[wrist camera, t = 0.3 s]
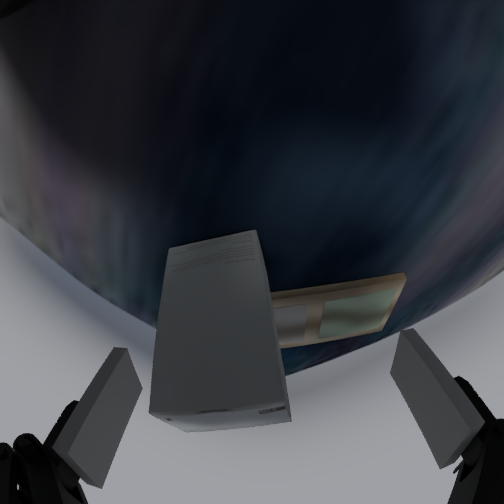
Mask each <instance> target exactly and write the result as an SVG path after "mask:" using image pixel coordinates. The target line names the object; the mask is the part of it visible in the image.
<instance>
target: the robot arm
mask: <svg viewBox="0 0 504 504" xmlns="http://www.w3.org/2000/svg"><path fill="white" fill-rule="evenodd" d="M29 1H31V0H0V19H1V18H4V17H6V16H8V15H10V14H12V13H13V12H15V11H17V10H18V9H20V8H21V7H23V6H24V5H25V4H27V3H28V2H29ZM390 374H391V376H392V377H393V379H394V381H395V383H396V385H397V386H398V388H399V390H400V391H401V394H402V395H403V397H404V399H405V401H406V403H407V405H408V407H409V408H410V410H411V412H412V414H413V416H414V418H415V420H416V421H417V423H418V426H419V427H420V429H421V431H422V433H423V435H424V437H425V439H426V441H427V443H428V445H429V447H430V449H431V451H432V454H433V456H434V458H435V460H436V462H437V464H438V466H439V468H440V469H442V468H444V467H446V466H448V465H451V464H452V463H454V462H455V461H456V460H457V459H458V458H459V457H460V455H461V456H462V457H463V460H462V462H461V463H460V464H459V465H458V466H457V467H456V468H455V470H454V472H453V473H456V472H457V471H458V470H459V471H458V475H457V478H456V481H455V484H454V487H453V490H452V493H451V495H450V498H449V501H448V504H504V419H496V418H495V417H494V416H493V414H492V413H491V411H490V410H489V409H488V407H487V406H486V405H485V403H484V402H483V401H482V399H481V398H480V397H478V394H477V393H476V391H474V389H473V388H472V386H471V385H470V384H469V382H468V381H466V380H465V379H463V378H462V377H460V376H457V377H455V378H453V377H452V376H451V374H450V373H449V372H448V370H447V369H446V368H445V367H444V365H443V364H442V363H441V362H440V360H439V359H438V358H437V356H436V355H435V354H434V353H433V351H432V350H431V349H430V348H429V347H428V345H427V344H426V343H425V342H424V340H423V339H422V338H421V337H420V336H419V335H418V333H417V332H416V331H415V330H414V329H413V328H412V329H407V330H402V331H400V335H399V339H398V344H397V348H396V352H395V356H394V360H393V364H392V368H391V372H390ZM141 391H142V386H141V383H140V381H139V378H138V376H137V374H136V371H135V369H134V366H133V363H132V360H131V358H130V355H129V352H128V349H127V348H117V347H114V348H113V350H112V351H111V353H110V354H109V356H108V357H107V359H106V360H105V362H104V363H103V365H102V366H101V368H100V369H99V371H98V372H97V374H96V375H95V377H94V378H93V380H92V382H91V383H90V385H89V386H88V388H87V390H86V391H85V393H84V394H83V396H82V398H81V399H80V401H75V400H74V401H72V402H71V403H70V404H69V405H67V406H66V408H65V409H64V411H63V412H62V414H61V417H59V419H58V420H57V423H56V424H55V425H54V427H53V429H52V430H51V432H50V433H49V435H48V437H47V439H46V440H45V442H44V444H43V445H42V444H41V443H40V441H39V440H38V439H37V438H36V437H35V436H34V435H33V434H30V433H25V434H22V435H19V436H18V437H17V438H16V439H15V441H14V443H13V448H11V446H9V445H8V444H7V443H4V442H3V443H0V504H88V502H87V500H86V497H85V495H84V492H83V490H82V487H81V485H80V484H79V482H78V481H79V479H80V478H81V479H82V480H83V481H84V482H86V483H87V484H89V485H92V486H95V487H98V488H101V489H102V487H103V485H104V482H105V479H106V476H107V474H108V471H109V469H110V466H111V464H112V461H113V458H114V456H115V453H116V451H117V448H118V446H119V443H120V441H121V438H122V436H123V433H124V431H125V428H126V426H127V424H128V421H129V419H130V417H131V414H132V412H133V409H134V407H135V405H136V402H137V400H138V398H139V395H140V393H141ZM13 449H14V450H15V451H14V450H13ZM17 484H18V485H19V490H17Z"/></svg>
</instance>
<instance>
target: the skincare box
mask: <svg viewBox="0 0 504 504" xmlns="http://www.w3.org/2000/svg"><path fill="white" fill-rule="evenodd" d="M149 414H151V415H152V416H154V417H156V418H158V419H160V420H162V421H164V422H166V423H168V424H170V425H173V426H175V427H177V428H178V429H180V430H182V431H184V432H204V431H216V430H228V429H237V428H246V427H255V426H264V425H270V424H277V423H284V422H291V413H290V405H289V399H288V393H287V386H286V379H285V373H284V368H283V363H282V358H281V351H280V345H279V340H278V334H277V328H276V323H275V317H274V311H273V305H272V300H271V294H270V288H269V282H268V276H267V272H266V267H265V263H264V259H263V254H262V250H261V246H260V242H259V238H258V234H257V231H256V230H250V231H246V232H241V233H237V234H232V235H227V236H223V237H218V238H213V239H209V240H204V241H200V242H195V243H191V244H187V245H182V246H178V247H173V248H169V251H168V257H167V262H166V268H165V274H164V281H163V287H162V294H161V301H160V308H159V315H158V323H157V332H156V339H155V348H154V358H153V370H152V381H151V395H150V406H149Z"/></svg>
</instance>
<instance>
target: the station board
mask: <svg viewBox="0 0 504 504" xmlns="http://www.w3.org/2000/svg"><path fill="white" fill-rule="evenodd" d="M406 280H407V278H406V276H405V274H404V272H403V273H397V274H391V275H386V276H380V277H374V278H368V279H362V280H356V281H349V282H343V283H336V284H330V285H323V286H316V287H309V288H302V289H294V290H287V291H279V292H271V293H270V294H271V300H272V305H273V311H274V317H275V323H276V328H277V334H278V340H279V345H280V348H288V347H295V346H302V345H308V344H315V343H321V342H326V341H332V340H338V339H343V338H348V337H353V336H358V335H363V334H368V333H373V332H377V331H381V330H382V329H383V327H384V325H385V323H386V321H387V319H388V317H389V315H390V313H391V311H392V309H393V307H394V305H395V303H396V301H397V299H398V297H399V295H400V293H401V291H402V289H403V286H404V284H405V282H406Z"/></svg>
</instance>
